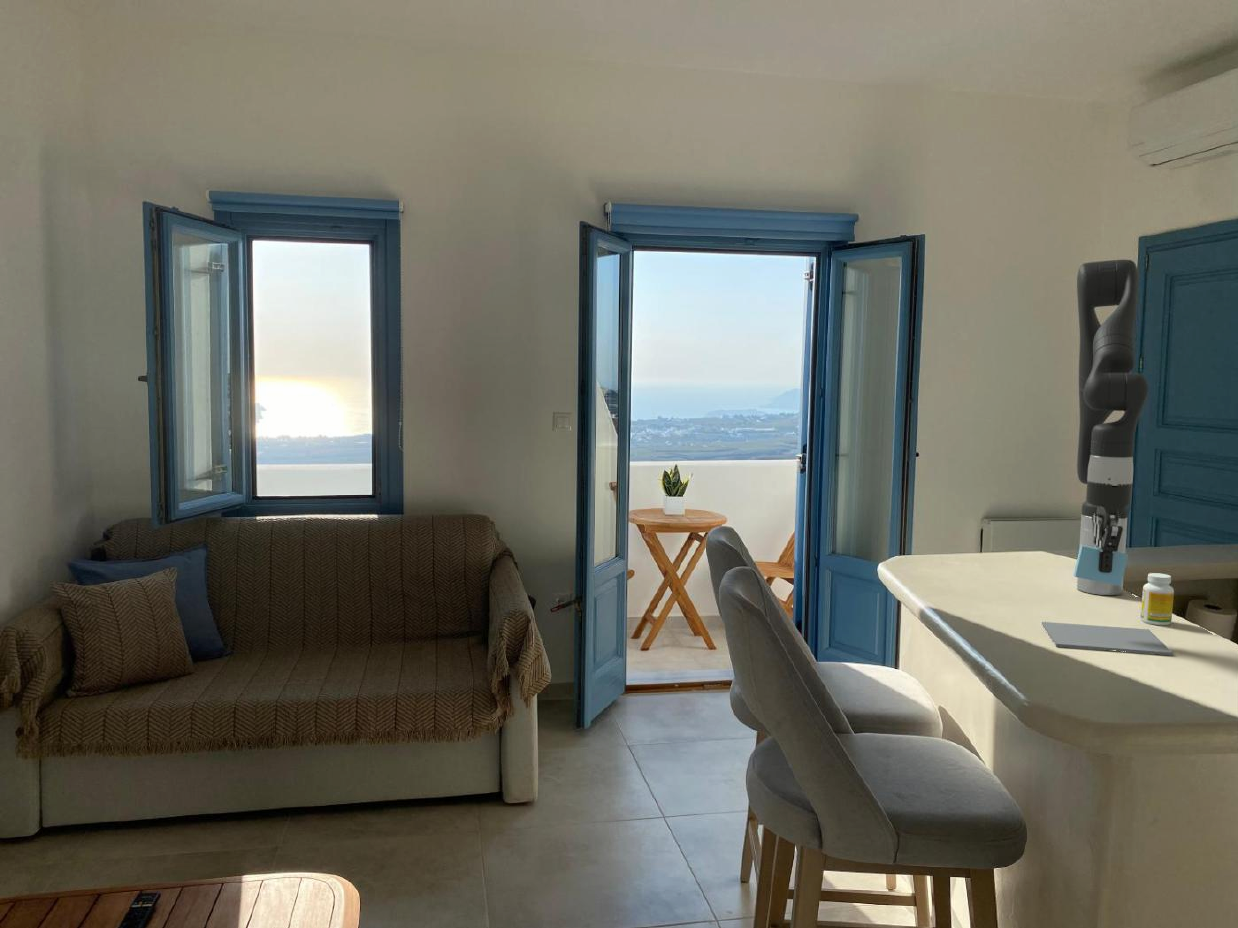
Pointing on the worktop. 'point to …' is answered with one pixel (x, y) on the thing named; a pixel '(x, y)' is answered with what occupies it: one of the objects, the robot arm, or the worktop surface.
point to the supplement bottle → (1157, 600)
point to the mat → (1105, 638)
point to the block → (1090, 565)
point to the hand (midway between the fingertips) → (1103, 570)
